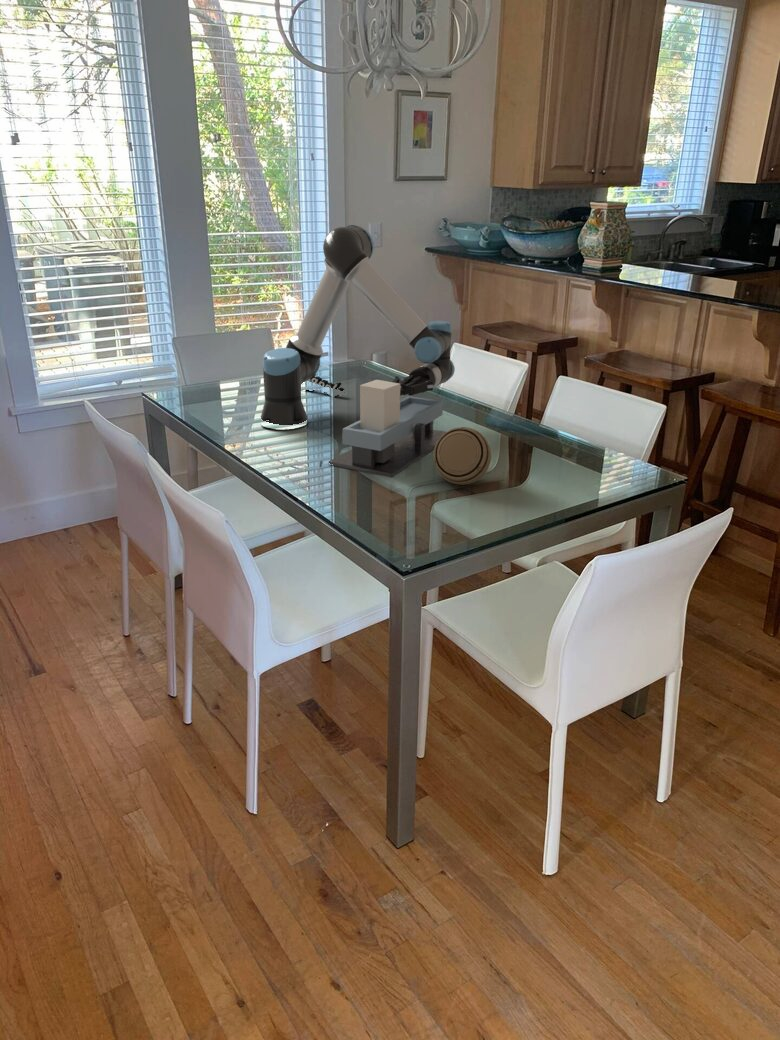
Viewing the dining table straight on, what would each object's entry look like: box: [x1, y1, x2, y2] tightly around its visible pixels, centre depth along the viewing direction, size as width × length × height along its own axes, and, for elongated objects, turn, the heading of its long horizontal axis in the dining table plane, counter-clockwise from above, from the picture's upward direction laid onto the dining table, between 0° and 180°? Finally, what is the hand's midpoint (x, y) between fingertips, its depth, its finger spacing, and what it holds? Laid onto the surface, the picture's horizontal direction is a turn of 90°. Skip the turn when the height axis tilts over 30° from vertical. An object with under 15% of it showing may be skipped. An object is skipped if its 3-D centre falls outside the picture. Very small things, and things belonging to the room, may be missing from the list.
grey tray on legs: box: [341, 395, 444, 463], centre depth 231 cm, size 40×13×9 cm, turn 152°
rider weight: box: [359, 379, 401, 432], centre depth 220 cm, size 8×8×12 cm
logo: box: [307, 373, 345, 391], centre depth 291 cm, size 21×2×10 cm, turn 54°
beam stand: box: [328, 420, 447, 478], centre depth 232 cm, size 42×20×9 cm, turn 152°
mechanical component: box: [432, 426, 492, 486], centre depth 206 cm, size 15×15×15 cm
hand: (388, 395), depth 223 cm, fingers closed
